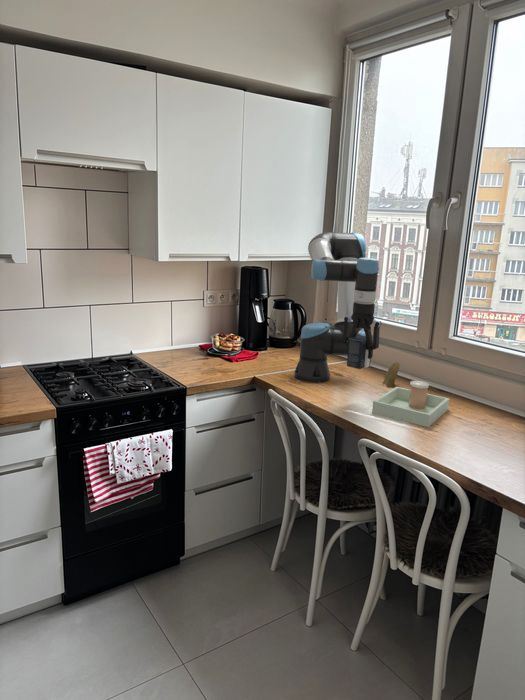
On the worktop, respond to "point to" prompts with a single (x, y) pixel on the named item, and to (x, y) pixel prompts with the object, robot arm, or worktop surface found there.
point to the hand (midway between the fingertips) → (358, 364)
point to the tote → (398, 407)
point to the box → (357, 352)
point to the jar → (418, 394)
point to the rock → (391, 375)
